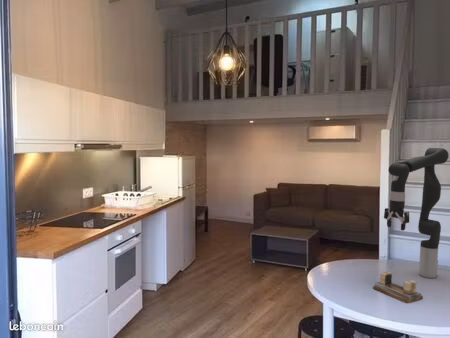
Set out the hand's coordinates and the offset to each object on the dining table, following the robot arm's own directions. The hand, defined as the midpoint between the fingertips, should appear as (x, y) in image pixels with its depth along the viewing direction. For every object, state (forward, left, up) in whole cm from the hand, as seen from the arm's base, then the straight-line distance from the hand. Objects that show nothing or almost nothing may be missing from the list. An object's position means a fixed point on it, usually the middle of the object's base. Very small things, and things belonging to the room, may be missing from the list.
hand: (395, 228), depth 209 cm
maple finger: (+13, +19, -29) cm, 37 cm away
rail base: (+13, +13, -30) cm, 35 cm away
